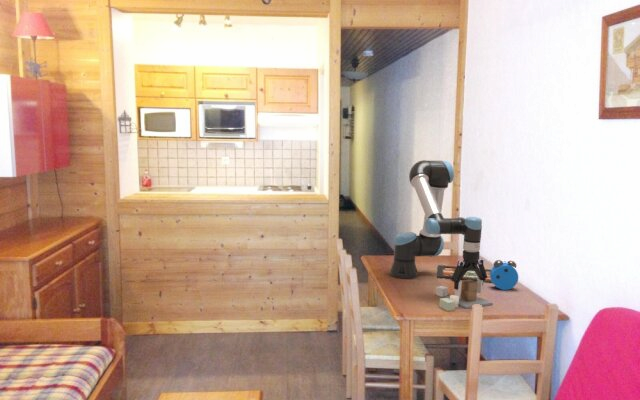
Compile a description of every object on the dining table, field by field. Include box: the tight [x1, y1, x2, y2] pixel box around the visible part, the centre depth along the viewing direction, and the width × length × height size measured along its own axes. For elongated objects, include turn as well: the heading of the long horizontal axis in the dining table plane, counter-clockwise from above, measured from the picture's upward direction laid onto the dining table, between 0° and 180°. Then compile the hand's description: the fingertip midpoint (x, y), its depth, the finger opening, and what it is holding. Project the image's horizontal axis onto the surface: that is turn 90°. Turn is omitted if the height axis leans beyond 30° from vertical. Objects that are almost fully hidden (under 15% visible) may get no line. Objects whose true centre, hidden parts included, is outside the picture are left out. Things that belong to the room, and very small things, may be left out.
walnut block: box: [460, 280, 478, 302], centre depth 253 cm, size 5×5×9 cm
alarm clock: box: [490, 259, 519, 291], centre depth 277 cm, size 13×6×15 cm, turn 85°
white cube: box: [435, 285, 448, 298], centre depth 263 cm, size 4×4×4 cm
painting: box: [436, 264, 493, 284], centre depth 303 cm, size 28×35×2 cm
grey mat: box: [442, 293, 494, 310], centre depth 254 cm, size 16×16×1 cm
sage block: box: [438, 297, 456, 312], centre depth 243 cm, size 6×4×4 cm, turn 23°
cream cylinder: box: [449, 294, 460, 309], centre depth 246 cm, size 4×4×5 cm
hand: (468, 294), depth 253 cm, fingers open, 13 cm apart
